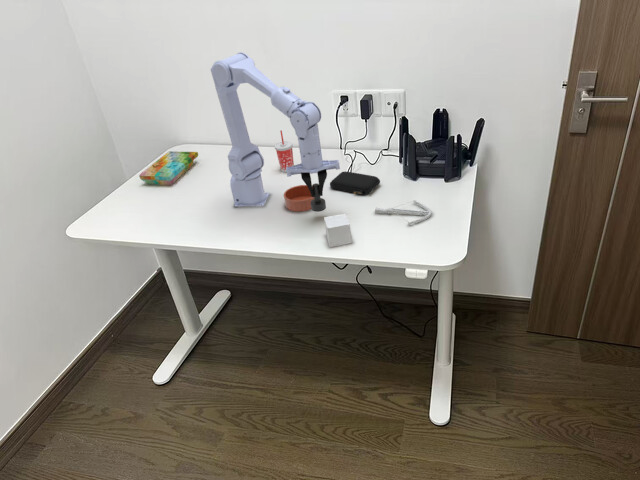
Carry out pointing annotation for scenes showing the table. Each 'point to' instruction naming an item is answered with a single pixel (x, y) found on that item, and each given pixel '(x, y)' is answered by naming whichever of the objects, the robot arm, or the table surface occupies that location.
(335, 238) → the white cube
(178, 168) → the puzzle game
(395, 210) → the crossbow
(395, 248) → the table surface
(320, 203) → the dark grey bolt
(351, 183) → the carrying case
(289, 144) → the beverage cup
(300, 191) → the pot
